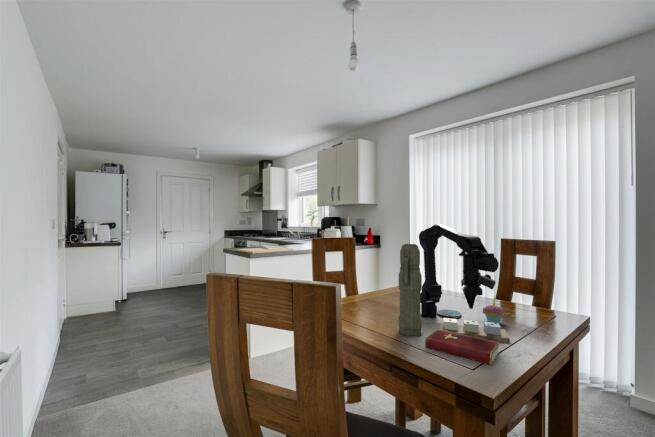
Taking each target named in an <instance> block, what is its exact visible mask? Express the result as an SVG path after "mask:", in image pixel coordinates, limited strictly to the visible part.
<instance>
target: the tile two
mask: <svg viewBox="0 0 655 437" xmlns="http://www.w3.org/2000/svg"><path fill="white" fill-rule="evenodd" d="M462 325H463V327H464V331H466V332H475V333H479V325H480V324H479V322H478V320H469V319H463V324H462Z"/></svg>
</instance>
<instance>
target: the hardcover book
mask: <svg viewBox="0 0 655 437" xmlns="http://www.w3.org/2000/svg"><path fill="white" fill-rule="evenodd" d="M424 339H425V340H424V348H425V349H428V350H432V351H435V352H438V353H443V354H446V355H449V356H454V357H458V358H461V359H466V360H468V361H469V360H470V361H472V362H476V363H480V364H485V365H488V366H491V367H492V366H493V362H494V360H495V358H496V357H497V356H498V355H499V346H500V344H501V343H500V342H499V341H490V340H485V339H481V338H476V337H471V336H467V335H462V334H458V333H453V332H449V331H444V330H440V329H437V328H436V330H434V331H433V332H431V333H430V334H428V335H427V336H426V337H425V338H424Z"/></svg>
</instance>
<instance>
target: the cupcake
mask: <svg viewBox="0 0 655 437" xmlns="http://www.w3.org/2000/svg"><path fill="white" fill-rule="evenodd" d="M492 300H493V305H491V304H490V305H486V306H485V307H483V308H482V314H484V315H485V318H486V320H487V321H486V322H492V323H499V324H500V323H501V320H502V319H503V317H504V316H505V310H504V309H502V308H501V307H500V306H496V296H495V295H494V297H493V299H492Z"/></svg>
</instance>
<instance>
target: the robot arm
mask: <svg viewBox="0 0 655 437" xmlns="http://www.w3.org/2000/svg"><path fill="white" fill-rule="evenodd" d="M442 237H444V238H446V239H448V240H449V241H451V242H453V243H455V244H456V246H457V247H458V248H459V249H461V252H459V253H458V256H459V257H462V279H461V280H460V286H461V287H462V288H461V289H462V292H463V295H464V297H465V299H466V303H467V305H468V308H469V309H470V310H471V309H473V308H474V307H475V306H474V305H475V301H476V297H477V296H483V293H484V292H483V291H484V290H483V288H482V287H481V286H484V287H486V288H488V289H490V290H493V289H494V288H495V285H496V282H497V281H496V280H495V279H493V278H492V276H491V275H490V274H487V273H486V274H484V275H482V274H481V272H480V271H483V272H489V273H495V272H496V271H497V270H499V264H500V263H499V261H498V258H497V257H495V253H492V252H488V251H487V249H486V247H485V245H484V244H483V242H482V239H481V238H480V237H479V236H477V235H472V234H466V233H463V232H460V231H458V230H455V229H453V228H451V227H449V226H447V225H445V224H444V223H436V224H434V225H432V226H431V227H428V228H426V229H424V230H421V231H420V233H419V234H418V240H419V241H418V242H419V245H420V246H421V248H422V250H423V262H424V263H423V266H424V282H423V283H422V289H421V291H420V314H421V318H432V319H436V318H437V316H438V305H436V304H437V303H440V300H441V298H442V294H443V291H442V285H441V284H439V283H438V281H437V269H436V268H437V266H436V248H437V246H438V244H439V239H440V238H442Z"/></svg>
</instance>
